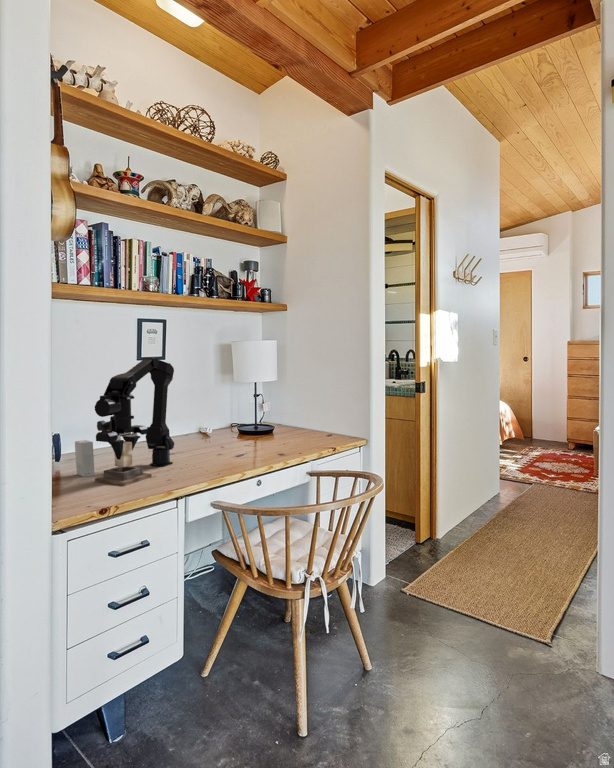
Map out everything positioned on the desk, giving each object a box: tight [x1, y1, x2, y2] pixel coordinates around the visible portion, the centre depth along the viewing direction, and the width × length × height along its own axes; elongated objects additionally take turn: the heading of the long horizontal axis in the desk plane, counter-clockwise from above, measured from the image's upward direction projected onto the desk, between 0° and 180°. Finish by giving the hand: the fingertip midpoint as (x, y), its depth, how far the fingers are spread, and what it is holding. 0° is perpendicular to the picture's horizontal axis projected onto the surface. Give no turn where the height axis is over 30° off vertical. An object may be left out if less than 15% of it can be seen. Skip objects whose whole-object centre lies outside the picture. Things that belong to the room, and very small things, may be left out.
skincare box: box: [74, 439, 96, 478], centre depth 176 cm, size 6×4×12 cm
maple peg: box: [114, 440, 133, 467], centre depth 170 cm, size 4×4×8 cm
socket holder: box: [94, 465, 153, 487], centre depth 171 cm, size 13×13×4 cm
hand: (123, 458), depth 170 cm, fingers closed on maple peg, 4 cm apart
